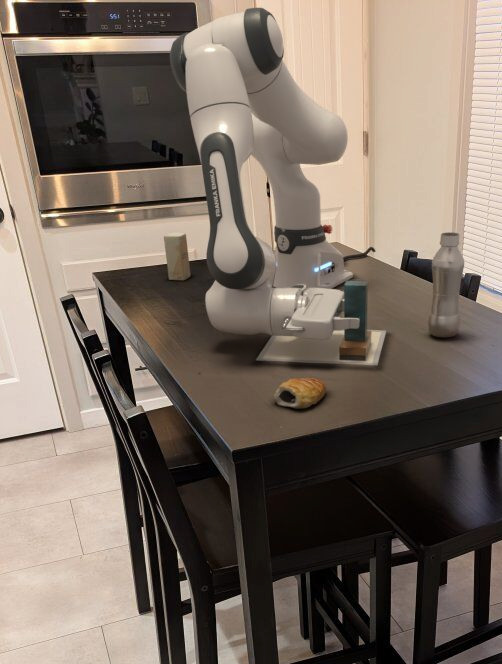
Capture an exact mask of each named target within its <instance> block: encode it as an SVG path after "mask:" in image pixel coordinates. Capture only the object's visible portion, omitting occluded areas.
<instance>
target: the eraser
mask: <svg viewBox="0 0 502 664" xmlns="http://www.w3.org/2000/svg"><path fill="white" fill-rule="evenodd" d="M368 284H369V282H368V281H367V280H347V281H345V282H344V285H343V292H344V312H343V315H344V317H343V318H350V316H353V317H359V318H360V326H359V328H357V329H353V328H349V329H345V330H344V337H343V340H342V342H341V344H340V347H339V360H359V361H366V358H367V355H368V352H369V349H370V345H371V331H367V330H368V294H369V293H368V291H369V290H368V289H369V287H368V286H369V285H368Z"/></svg>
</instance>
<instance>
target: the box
mask: <svg viewBox="0 0 502 664" xmlns="http://www.w3.org/2000/svg"><path fill="white" fill-rule="evenodd" d="M163 241H164V243H163V244H164V249H165V258H166V266H167V275H168V280H169V281H185V280H187V279H188V278H190V277H191V268H190V258H189V249H188V248H189V247H188V239H187V233H186V232H174V231H173V232H170V233H167V234H165V235H163Z"/></svg>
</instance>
